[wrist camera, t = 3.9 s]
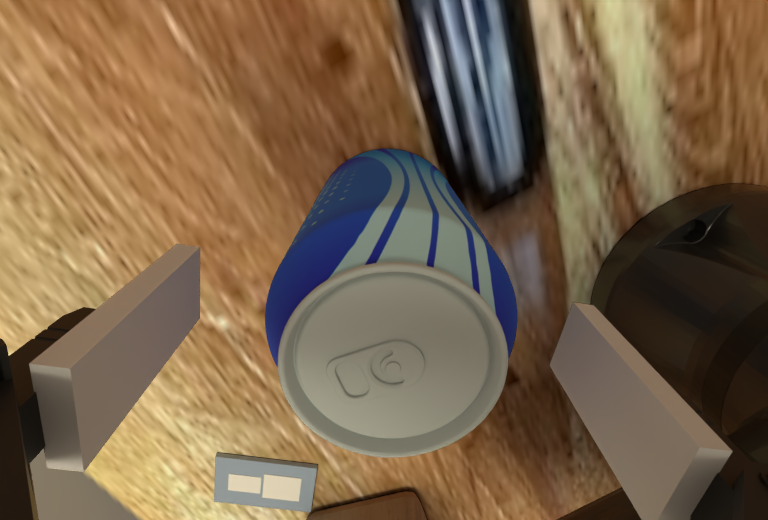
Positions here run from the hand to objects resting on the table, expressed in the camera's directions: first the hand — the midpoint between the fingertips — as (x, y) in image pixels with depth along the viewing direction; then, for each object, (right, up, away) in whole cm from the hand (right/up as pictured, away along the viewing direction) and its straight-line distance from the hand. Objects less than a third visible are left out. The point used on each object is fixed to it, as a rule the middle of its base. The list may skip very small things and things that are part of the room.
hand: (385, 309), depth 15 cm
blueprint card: (-10, -16, +20) cm, 28 cm away
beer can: (0, +5, +12) cm, 13 cm away
